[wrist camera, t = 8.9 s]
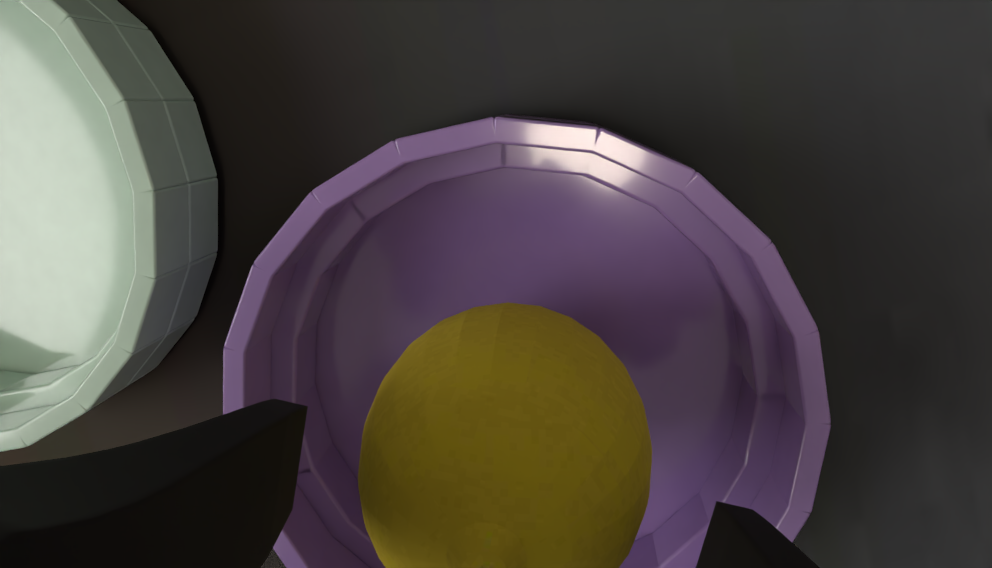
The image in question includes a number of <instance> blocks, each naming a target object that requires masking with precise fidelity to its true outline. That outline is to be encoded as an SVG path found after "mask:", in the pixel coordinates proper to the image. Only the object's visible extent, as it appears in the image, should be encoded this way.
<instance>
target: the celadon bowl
mask: <svg viewBox="0 0 992 568" xmlns="http://www.w3.org/2000/svg"><path fill="white" fill-rule="evenodd" d="M193 100H194V98H193V96H192V95H191V93H190V92H189V90H188V89H187V87H186V85H185V84H184V82H183V81H182V79H181V78H180V76H179V74H178V73H177V71H176V70H175V68H174V67H173V65H172V64H171V62H170V60H169V59H168V57H167V56H166V54H165V53H164V51H163V50H162V48H161V46H160V45H159V43H158V42H157V40H156V39H155V37H154V36H153V34H152V32H151V31H150V30H148V28H147V26H145V25H144V24H143V23H142V22H141V21H140V20H139V19H137V18H136V17H135V16H134V15H133V14H132V13H131V12H129V11H128V10H127V9H126V8H125V7H124V6H123V5H121V4H120V3H119V2H118V1H117V0H0V452H2V451H7V450H13V449H19V448H24V447H27V446H31V445H32V444H34V443H36V442H37V441H39V440H41V439H42V438H44V437H46V436H48V435H49V434H51V433H53V432H54V431H56V430H58V429H59V428H61V427H63V426H65V425H66V424H68V423H70V422H71V421H73V420H75V419H76V418H78V417H80V416H82V415H83V414H85V413H87V412H88V411H90V410H91V409H93V408H94V407H96V406H98V405H99V404H101V403H102V402H104V401H105V400H107V399H109V398H110V397H112V396H113V395H115V394H116V393H118V392H120V391H121V390H122V389H124V388H126V387H127V386H129V385H130V384H132V383H134V382H135V381H137V380H138V379H140V378H141V377H143V376H145V375H146V374H148V373H149V372H151V371H152V370H153V369H154V368H156V367H157V366H158V365H159V364H160V362H161V361H162V360H163V359H164V357H165V356H166V355H167V354H168V352H169V351H170V350H171V349H172V347H173V346H174V345H175V344H176V342H177V341H178V340H179V339H180V337H181V336H182V335H183V334H184V332H185V331H186V330H187V329H188V327H189V326H190V325H191V324H192V322H193V321H194V319H195V317H196V316H197V314H198V311H199V308H200V305H201V302H202V299H203V296H204V293H205V290H206V287H207V284H208V281H209V278H210V275H211V272H212V269H213V266H214V263H215V260H216V257H217V251H218V179H217V178H215V177H217V173H216V169H215V166H214V163H213V159H212V156H211V153H210V149H209V146H208V143H207V139H206V136H205V133H204V129H203V126H202V123H201V119H200V116H199V113H198V110H197V106H196V103H195V102H194V101H193Z"/></svg>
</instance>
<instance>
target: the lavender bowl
mask: <svg viewBox="0 0 992 568" xmlns="http://www.w3.org/2000/svg"><path fill="white" fill-rule="evenodd" d="M508 302H509V303H518V304H527V305H537V306H542V307H544V308H547V309H550V310H552V311H555V312H558V313H560V314H563V315H566V316H569V317H571V318H573V319H574V320H576V321H577V322H578V323H580V324H581V325H583V326H584V327H586V328H587V329H589V330H590V331H592V332H593V333H595V334H596V335H598V336H599V337H600V338H601V339H602V340H603V342H604V343H605V344H606V345H607V346H608V347H609V348H610V349H611V351H612V352H613V353H614V354H615V355H616V356H617V357H618V358H619V360H620V361H621V362H622V363H623V364H624V366H625V367H626V369H627V371H628V373H629V375H630V377H631V379H632V381H633V383H634V385H635V387H636V389H637V391H638V393H639V395H640V397H641V399H642V402H643V405H644V408H645V413H646V418H647V423H648V428H649V433H650V438H651V444H652V466H651V479H650V492H649V499H648V505H647V508H646V511H645V514H644V517H643V520H642V522H641V525H640V528H639V530H638V533H637V535H636V538H635V541H634V543H633V546H632V548H631V550H630V552H629V555H628V556H627V557H626V559H625V560H624V561H623V563H622V564H621V565H620V567H619V568H696V565H697V562H698V559H699V555H700V552H701V549H702V546H703V543H704V539H705V536H706V533H707V530H708V526H709V523H710V520H711V517H712V514H713V510H714V507H715V504H716V501H719V502H723V503H727V504H732V505H736V506H740V507H745V508H749V509H752V510H754V511H755V512H757V513H758V514H760V515H761V516H762V517H763V518H765V519H766V520H767V521H768V522H770V523H771V524H772V525H773V526H774V527H775V528H776V529H778V530H779V531H780V532H781V533H782V534H783V535H784V536H785V537H786V538H788V539H789V540H790V541H791V542H792V543H793V541H794V539H795V538H796V536H797V535H798V533H799V532H800V530H801V528H802V527H803V525H804V524H805V522H806V520H807V519H808V517H809V516H810V512H812V508H813V504H814V499H815V495H816V490H817V486H818V482H819V477H820V473H821V468H822V464H823V459H824V455H825V450H826V446H827V442H828V437H829V433H830V428H831V424H830V423H831V417H830V410H829V402H828V395H827V387H826V379H825V372H824V364H823V357H822V349H821V341H820V334H819V331H818V327H817V325H816V323H815V321H814V319H813V317H812V315H811V313H810V311H809V310H808V308H807V306H806V304H805V302H804V300H803V298H802V296H801V294H800V292H799V290H798V288H797V287H796V285H795V283H794V281H793V279H792V277H791V275H790V273H789V271H788V269H787V267H786V265H785V264H784V262H783V260H782V258H781V256H780V254H779V252H778V250H777V248H776V246H775V244H774V243H772V242H771V239H770V238H769V237H768V236H767V235H766V234H765V233H763V232H762V231H761V230H760V229H759V228H758V227H757V226H756V225H755V224H754V223H753V222H752V221H751V220H750V219H748V218H747V217H746V216H745V215H744V214H743V213H742V212H741V211H740V210H739V209H738V208H737V207H736V206H734V205H733V204H732V203H731V202H730V201H729V200H728V199H727V198H726V197H725V196H724V195H723V194H722V193H721V192H719V191H718V190H717V189H716V188H715V187H714V186H713V185H712V184H711V183H710V182H709V181H708V180H707V179H706V178H704V177H703V176H702V175H701V174H700V173H699V172H697V171H695V170H694V169H693V168H691V167H689V166H687V165H686V164H684V163H682V162H680V161H678V160H676V159H675V158H673V157H671V156H668V155H666V154H664V153H662V152H660V151H657V150H655V149H653V148H651V147H648V146H646V145H644V144H642V143H639V142H637V141H635V140H633V139H631V138H628V137H626V136H624V135H622V134H619V133H617V132H615V131H613V130H611V129H608V128H606V127H604V126H602V125H599V124H596V125H595V124H594V123H593V122H584V121H574V120H564V119H554V118H544V117H534V116H524V115H514V114H508V115H499V116H494V117H489V118H484V119H480V120H476V121H471V122H467V123H462V124H458V125H454V126H449V127H445V128H440V129H436V130H432V131H427V132H423V133H418V134H414V135H410V136H405V137H401V138H397V139H396V140H392V141H390V142H388V143H387V144H385V145H384V146H382V147H380V148H379V149H377V150H376V151H374V152H372V153H371V154H369V155H367V156H366V157H364V158H363V159H361V160H359V161H358V162H356V163H355V164H353V165H351V166H350V167H348V168H346V169H345V170H343V171H342V172H340V173H338V174H337V175H335V176H334V177H332V178H330V179H329V180H327V181H325V182H324V183H322V184H321V185H319V186H317V187H316V188H314V189H313V190H312V192H310V193H308V195H307V196H306V197H305V198H304V200H303V201H302V202H301V203H300V205H299V206H298V207H297V208H296V210H295V211H294V212H293V213H292V215H291V216H290V217H289V218H288V220H287V221H286V222H285V223H284V225H283V226H282V227H281V228H280V229H279V231H278V232H277V233H276V234H275V236H274V237H273V238H272V239H271V241H270V242H269V243H268V244H267V246H266V247H265V248H264V249H263V251H262V252H261V253H260V254H259V256H258V257H257V258H256V259H255V261H254V264H253V265H252V266H251V269H250V272H249V275H248V278H247V280H246V283H245V286H244V289H243V292H242V295H241V298H240V300H239V303H238V306H237V309H236V312H235V315H234V318H233V320H232V323H231V326H230V329H229V332H228V335H227V338H226V340H225V343H224V348H223V415H224V414H227V413H230V412H232V411H235V410H238V409H241V408H244V407H247V406H250V405H253V404H256V403H259V402H262V401H266V400H270V399H278V400H283V401H287V402H291V403H296V404H300V405H304V406H308V409H307V415H306V422H305V429H304V436H303V442H302V449H301V456H300V463H299V469H298V476H297V483H296V490H295V496H294V503H293V509H292V511H291V513H290V515H289V517H288V519H287V521H286V523H285V525H284V527H283V529H282V531H281V533H280V535H279V537H278V539H277V541H276V543H275V544H274V546H273V549H274V551H275V552H276V553H277V555H278V556H279V558H280V559H281V561H282V562H283V563H284V565H285V566H286V568H386V567H385V566H384V565H383V563H382V562H381V560H380V559H379V557H378V555H377V553H376V550H375V548H374V546H373V543H372V541H371V539H370V537H369V534H368V532H367V530H366V527H365V523H364V519H363V513H362V507H361V500H360V494H359V488H358V470H359V461H360V452H361V443H362V434H363V429H364V425H365V422H366V419H367V416H368V413H369V411H370V408H371V406H372V404H373V401H374V399H375V396H376V394H377V391H378V389H379V387H380V384H381V383H382V381H383V379H384V377H385V376H386V374H387V373H388V372H389V371H390V369H391V368H392V367H393V365H394V364H395V363H396V362H397V360H398V359H399V358H400V356H401V355H402V354H403V352H404V351H405V350H406V349H407V347H408V346H409V345H410V344H411V343H412V342H413V341H415V340H416V339H417V338H419V337H420V336H421V335H423V334H424V333H425V332H427V331H428V330H429V329H431V328H432V327H433V326H435V325H436V324H437V323H439V322H440V321H442V320H444V319H446V318H448V317H451V316H453V315H456V314H458V313H461V312H463V311H466V310H468V309H471V308H473V307H478V306H485V305H493V304H500V303H508Z"/></svg>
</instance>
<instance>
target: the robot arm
mask: <svg viewBox="0 0 992 568" xmlns="http://www.w3.org/2000/svg"><path fill="white" fill-rule="evenodd" d="M307 409H308V406H304V405H300V404H296V403H291V402H287V401H283V400H278V399H270V400H266V401H262V402H259V403H256V404H253V405H250V406H247V407H244V408H241V409H238V410H235V411H232V412H230V413H227V414H224V415H221V416H218V417H215V418H212V419H210V420H207V421H204V422H201V423H198V424H195V425H192V426H189V427H186V428H183V429H180V430H176V431H173V432H170V433H166V434H163V435H160V436H156V437H153V438H150V439H146V440H143V441H140V442H136V443H132V444H128V445H125V446H120V447H116V448H112V449H108V450H103V451H98V452H93V453H88V454H83V455H78V456H72V457H67V458H60V459H52V460H45V461H37V462H30V463H22V464H15V465H7V466H0V568H260V567H261V566H262V564H263V563H264V561H265V560H266V559H267V557H268V556H269V554H270V552H271V550H272V548H273V546H274V544H275V543H276V541H277V539H278V537H279V535H280V533H281V531H282V529H283V527H284V525H285V523H286V521H287V519H288V517H289V515H290V513H291V511H292V509H293V503H294V496H295V490H296V483H297V476H298V469H299V463H300V456H301V449H302V442H303V436H304V429H305V422H306V415H307ZM696 568H819V567H818V566H817V565H816V564H815V563H814V562H813V561H812V560H811V559H809V558H808V557H807V556H806V555H805V554H804V553H803V552H802V551H801V550H800V549H798V548H797V547H796V546H795V545H794V544H793V543H792V542H791V541H790V540H789V539H788V538H786V537H785V536H784V535H783V534H782V533H781V532H780V531H779V530H778V529H776V528H775V527H774V526H773V525H772V524H771V523H770V522H768V521H767V520H766V519H765V518H763V517H762V516H761V515H760V514H758V513H757V512H755V511H754V510H752V509H749V508H745V507H740V506H736V505H732V504H727V503H723V502H719V501H716V504H715V507H714V510H713V514H712V517H711V520H710V523H709V526H708V530H707V533H706V536H705V539H704V543H703V546H702V549H701V552H700V555H699V559H698V562H697V565H696Z"/></svg>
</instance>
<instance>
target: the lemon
mask: <svg viewBox="0 0 992 568" xmlns="http://www.w3.org/2000/svg"><path fill="white" fill-rule="evenodd" d="M651 466H652V444H651V438H650V433H649V428H648V423H647V418H646V413H645V408H644V405H643V402H642V399H641V397H640V395H639V393H638V391H637V389H636V387H635V385H634V383H633V381H632V379H631V377H630V375H629V373H628V371H627V369H626V367H625V366H624V364H623V363H622V362H621V361H620V360H619V358H618V357H617V356H616V355H615V354H614V353H613V352H612V351H611V349H610V348H609V347H608V346H607V345H606V344H605V343H604V342H603V340H602V339H601V338H600V337H599V336H598V335H596V334H595V333H593V332H592V331H590V330H589V329H587V328H586V327H584V326H583V325H581V324H580V323H578V322H577V321H576V320H574V319H573V318H571V317H569V316H566V315H563V314H560V313H558V312H555V311H552V310H550V309H547V308H544V307H542V306H537V305H527V304H518V303H509V302H508V303H500V304H493V305H485V306H478V307H473V308H471V309H468V310H466V311H463V312H461V313H458V314H456V315H453V316H451V317H448V318H446V319H444V320H442V321H440V322H439V323H437V324H436V325H435V326H433V327H432V328H431V329H429V330H428V331H427V332H425V333H424V334H423V335H421V336H420V337H419V338H417V339H416V340H415V341H413V342H412V343H411V344H410V345H409V346H408V347H407V349H406V350H405V351H404V352H403V354H402V355H401V356H400V358H399V359H398V360H397V362H396V363H395V364H394V365H393V367H392V368H391V369H390V371H389V372H388V373H387V374H386V376H385V377H384V379H383V381H382V383H381V384H380V387H379V389H378V391H377V394H376V396H375V399H374V401H373V404H372V406H371V408H370V411H369V413H368V416H367V419H366V422H365V425H364V429H363V434H362V443H361V452H360V461H359V470H358V488H359V494H360V500H361V507H362V513H363V519H364V523H365V527H366V530H367V532H368V534H369V537H370V539H371V541H372V543H373V546H374V548H375V550H376V553H377V555H378V557H379V559H380V560H381V562H382V563H383V565H384V566H385V567H386V568H619V567H620V565H621V564H622V563H623V561H624V560H625V559H626V557H627V556H628V555H629V552H630V550H631V548H632V546H633V543H634V541H635V538H636V535H637V533H638V530H639V528H640V525H641V522H642V520H643V517H644V514H645V511H646V508H647V505H648V499H649V492H650V479H651Z"/></svg>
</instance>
